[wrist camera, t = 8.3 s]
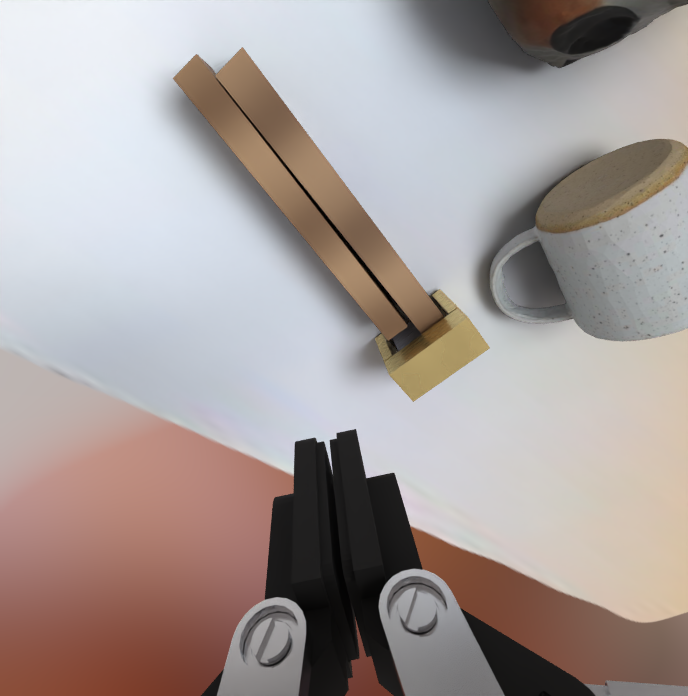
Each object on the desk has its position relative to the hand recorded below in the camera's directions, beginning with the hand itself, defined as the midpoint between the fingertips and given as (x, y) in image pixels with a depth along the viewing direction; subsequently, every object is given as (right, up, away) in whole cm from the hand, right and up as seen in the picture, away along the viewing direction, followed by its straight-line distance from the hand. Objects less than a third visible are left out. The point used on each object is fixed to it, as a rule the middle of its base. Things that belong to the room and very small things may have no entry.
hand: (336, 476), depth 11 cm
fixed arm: (+1, +11, +12) cm, 16 cm away
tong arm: (-2, +11, +12) cm, 16 cm away
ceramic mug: (+14, +10, +15) cm, 23 cm away
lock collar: (+5, +5, +16) cm, 17 cm away
